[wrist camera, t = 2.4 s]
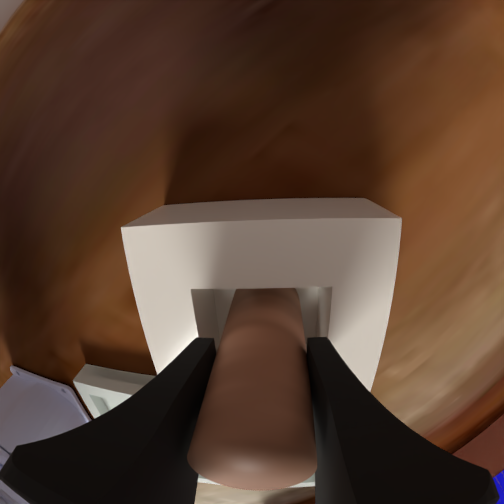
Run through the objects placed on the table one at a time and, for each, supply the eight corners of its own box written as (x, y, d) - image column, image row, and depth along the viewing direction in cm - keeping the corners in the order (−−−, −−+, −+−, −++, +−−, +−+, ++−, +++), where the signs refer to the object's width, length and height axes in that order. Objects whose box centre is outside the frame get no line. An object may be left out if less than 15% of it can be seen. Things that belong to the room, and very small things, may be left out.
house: (384, 490, 22) (396, 563, 11) (524, 390, 16) (566, 460, 5) (420, 495, 24) (432, 552, 13) (530, 415, 18) (559, 468, 7)
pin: (235, 331, 13) (200, 485, 6) (229, 274, 12) (172, 430, 5) (299, 331, 13) (310, 489, 5) (300, 272, 12) (325, 436, 4)
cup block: (190, 362, 15) (171, 412, 12) (163, 205, 13) (120, 227, 9) (348, 361, 15) (363, 413, 11) (365, 198, 12) (401, 218, 8)
